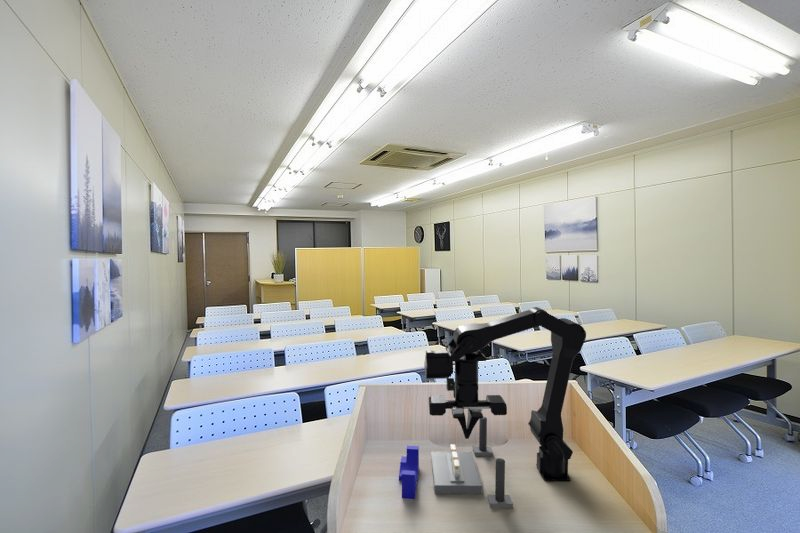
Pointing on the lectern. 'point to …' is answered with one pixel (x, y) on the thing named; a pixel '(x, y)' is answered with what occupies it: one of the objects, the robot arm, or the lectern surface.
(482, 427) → the grey post on base
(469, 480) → the breaker panel
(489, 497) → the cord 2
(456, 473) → the breaker paddles
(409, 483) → the cable clip
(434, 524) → the lectern surface
